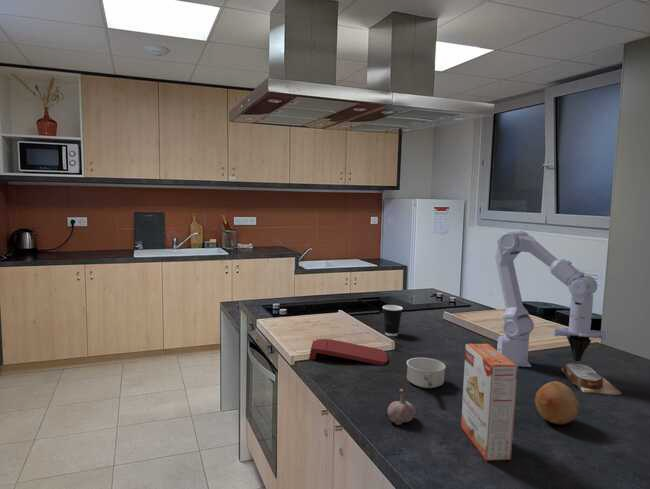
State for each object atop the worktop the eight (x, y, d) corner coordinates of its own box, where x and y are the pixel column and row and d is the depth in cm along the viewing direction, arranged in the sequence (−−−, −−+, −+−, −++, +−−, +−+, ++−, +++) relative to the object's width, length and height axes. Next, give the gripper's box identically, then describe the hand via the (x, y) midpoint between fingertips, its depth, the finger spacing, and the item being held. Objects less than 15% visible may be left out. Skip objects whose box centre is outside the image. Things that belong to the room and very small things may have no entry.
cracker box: (458, 428, 110) (464, 342, 108) (483, 427, 110) (489, 342, 108) (484, 462, 96) (490, 364, 94) (511, 461, 97) (519, 364, 94)
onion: (576, 436, 108) (580, 394, 107) (530, 423, 113) (533, 384, 112) (579, 419, 116) (582, 381, 115) (536, 409, 121) (539, 372, 120)
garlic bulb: (395, 429, 108) (397, 397, 108) (379, 415, 115) (381, 384, 114) (422, 424, 111) (424, 392, 111) (405, 410, 118) (407, 380, 117)
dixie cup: (401, 332, 187) (403, 305, 186) (401, 338, 179) (402, 310, 178) (381, 330, 188) (383, 304, 187) (380, 336, 180) (381, 308, 179)
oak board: (583, 392, 133) (583, 389, 133) (561, 370, 150) (561, 368, 150) (620, 395, 132) (621, 392, 132) (594, 372, 149) (594, 370, 149)
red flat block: (382, 363, 162) (311, 349, 163) (385, 350, 162) (314, 335, 163) (385, 377, 150) (308, 361, 151) (388, 362, 150) (311, 346, 151)
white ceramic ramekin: (407, 401, 124) (408, 381, 123) (404, 373, 143) (405, 356, 143) (451, 405, 122) (452, 385, 122) (442, 376, 142) (443, 359, 141)
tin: (576, 387, 134) (607, 392, 133) (578, 377, 134) (609, 382, 132) (559, 369, 149) (587, 373, 148) (560, 359, 149) (589, 363, 147)
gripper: (560, 318, 136) (556, 363, 138) (612, 321, 134) (608, 366, 136) (551, 312, 143) (548, 355, 145) (601, 315, 141) (597, 358, 143)
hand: (576, 360), depth 141 cm, fingers closed
